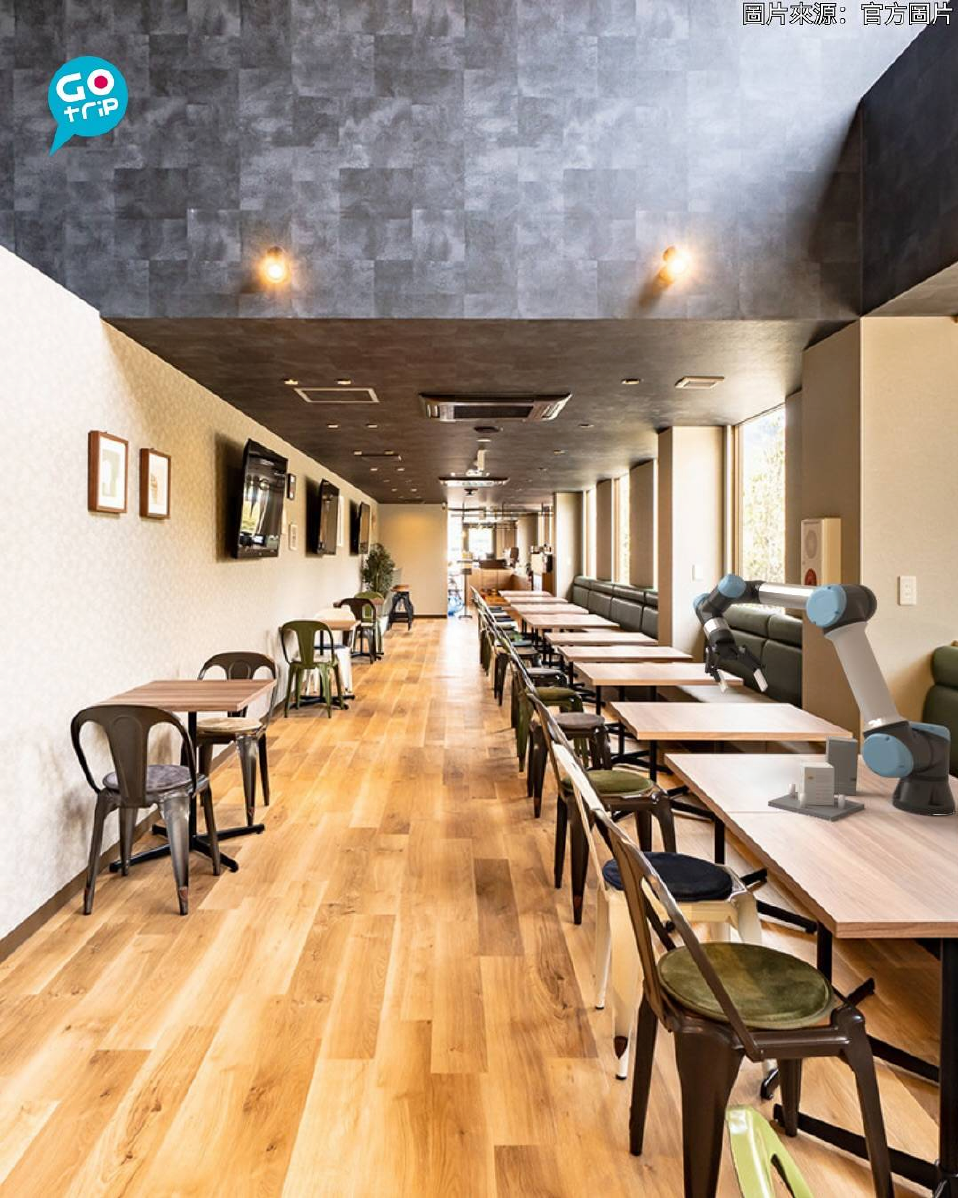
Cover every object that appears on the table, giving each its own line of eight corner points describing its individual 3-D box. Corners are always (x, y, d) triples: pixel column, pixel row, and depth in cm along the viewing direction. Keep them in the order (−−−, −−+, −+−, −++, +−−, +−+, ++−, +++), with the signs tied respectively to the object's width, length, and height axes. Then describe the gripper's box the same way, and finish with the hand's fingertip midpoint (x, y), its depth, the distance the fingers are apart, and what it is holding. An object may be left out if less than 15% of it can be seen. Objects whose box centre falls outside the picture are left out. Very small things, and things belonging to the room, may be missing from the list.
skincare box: (826, 794, 239) (827, 739, 238) (823, 787, 246) (824, 734, 245) (858, 796, 237) (859, 741, 236) (854, 790, 243) (856, 736, 243)
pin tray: (801, 794, 239) (802, 777, 238) (864, 808, 225) (864, 790, 225) (768, 805, 227) (768, 788, 227) (832, 821, 213) (832, 803, 213)
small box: (827, 800, 228) (828, 762, 228) (834, 806, 223) (835, 767, 222) (797, 799, 229) (798, 761, 229) (803, 805, 224) (804, 766, 223)
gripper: (748, 642, 271) (775, 695, 257) (680, 643, 264) (703, 698, 251) (758, 627, 266) (786, 680, 252) (688, 628, 259) (713, 683, 245)
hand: (745, 689), depth 251 cm, fingers open, 13 cm apart
